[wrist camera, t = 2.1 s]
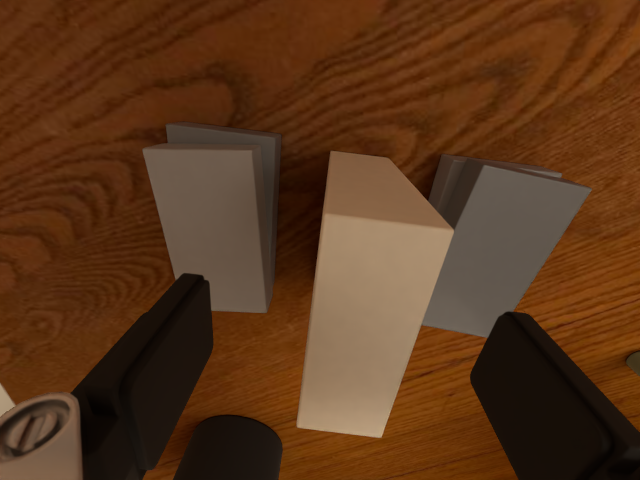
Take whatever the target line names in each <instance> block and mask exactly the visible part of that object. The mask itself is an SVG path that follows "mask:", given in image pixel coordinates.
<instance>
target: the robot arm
mask: <svg viewBox="0 0 640 480" xmlns="http://www.w3.org/2000/svg"><path fill="white" fill-rule="evenodd" d="M212 349H213V329H212V313H211V298H210V283H209V281H208V280H205V279H204V276H203V275H199V274H191V273H183V274H182V275H181V276H180V277H179V278H178V279H177V280H176V281H175V282H174V283H173V285H172V286H171V287H170V288H169V289H168V290H167V291H166V292H165V293H164V295H163V296H162V297H161V298H160V299H159V300H158V301H157V302H156V304H155V305H154V306H153V307H152V308H151V309H150V310H149V311H148V312H146V313H144V314H143V315H142V316H141V317H140V318H139V319H138V320H137V321H136V322H135V323H134V324H133V325H132V326H131V327H130V329H129V330H128V331H127V332H126V333H125V334H124V335H123V336H122V337H121V338H120V340H119V341H118V342H117V343H116V344H115V345H114V346H113V347H112V348H111V349H110V350H109V352H108V353H107V354H106V355H105V356H104V357H103V358H102V359H101V360H100V361H99V363H98V364H97V365H96V366H95V367H94V368H93V369H92V370H91V371H90V372H89V374H88V375H87V376H86V377H85V378H84V379H83V380H82V381H81V382H80V383H79V385H78V386H77V387H76V388H75V389H74V390H73V391H72V392H71V393H70V394H69V393H64V392H53V393H46V394H43V395H39V396H36V397H33V398H31V399H29V400H26V401H24V402H22V403H20V404H18V405H16V406H15V407H13V408H12V409H10V410H9V411H7V412H5V413H4V414H3V415H2V416H1V417H0V480H142V479H143V477H144V475H145V473H146V471H147V470H152V469H153V468H154V467H155V466H156V464H157V463H158V461H159V459H160V457H161V455H162V453H163V451H164V449H165V447H166V444H167V442H168V440H169V438H170V436H171V434H172V432H173V430H174V428H175V426H176V424H177V422H178V420H179V418H180V416H181V414H182V412H183V410H184V408H185V406H186V404H187V402H188V400H189V398H190V396H191V394H192V392H193V389H194V387H195V385H196V383H197V381H198V379H199V377H200V375H201V373H202V371H203V369H204V367H205V365H206V363H207V361H208V359H209V357H210V355H211V352H212ZM470 380H471V384H472V386H473V388H474V390H475V392H476V394H477V396H478V398H479V400H480V402H481V404H482V407H483V409H484V411H485V413H486V415H487V417H488V419H489V421H490V423H491V425H492V427H493V429H494V431H495V433H496V435H497V437H498V439H499V441H500V443H501V445H502V447H503V449H504V451H505V453H506V455H507V457H508V459H509V461H510V463H511V465H512V467H513V469H514V471H515V473H516V475H517V477H518V479H519V480H640V433H639V431H638V430H637V429H636V428H635V427H634V426H633V425H632V424H631V423H630V422H629V421H628V420H627V419H626V418H625V416H624V415H623V414H622V413H621V412H620V411H619V410H618V409H617V408H616V407H615V406H614V405H613V404H612V403H611V401H610V400H609V399H608V398H607V397H606V396H605V395H604V394H603V393H602V392H601V391H600V390H599V389H598V388H597V387H596V385H595V384H594V383H593V382H592V381H591V380H590V379H589V378H588V377H587V376H586V375H585V374H584V373H583V372H582V370H581V369H580V368H579V367H578V366H577V365H576V364H575V363H574V362H573V361H572V360H571V359H570V358H569V357H568V355H567V354H566V353H565V352H564V351H563V350H562V349H561V348H560V347H559V346H558V345H557V344H556V343H555V342H554V341H553V339H552V338H551V337H550V336H549V335H548V334H547V333H546V332H545V331H544V330H543V329H542V328H541V327H540V326H539V324H538V323H537V322H536V321H535V320H534V319H533V318H532V317H531V316H530V315H529V314H526V313H519V312H510V311H508V312H505V313H504V314H503V315H500V316H499V317H498V318H497V320H496V322H495V324H494V326H493V328H492V330H491V332H490V334H489V336H488V338H487V341H486V343H485V345H484V347H483V349H482V351H481V353H480V355H479V357H478V359H477V361H476V363H475V365H474V367H473V369H472V371H471V374H470Z"/></svg>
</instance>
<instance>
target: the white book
mask: <svg viewBox="0 0 640 480" xmlns="http://www.w3.org/2000/svg"><path fill="white" fill-rule="evenodd" d="M453 234H454V230H453V228H452V227H451V226H450V225H449V224H448V223H447V222H446V221H445V220H444V219H443V217H442V216H441V215H440V214H439V213H438V212H437V211H436V210H435V209H434V208H433V206H432V205H431V204H430V203H429V202H428V201H427V200H426V199H425V198H424V196H423V195H422V194H421V193H420V192H419V191H418V190H417V189H416V188H415V187H414V185H413V184H412V183H411V182H410V181H409V180H408V179H407V178H406V177H405V175H404V174H403V173H402V172H401V171H400V170H399V169H398V168H397V167H396V166H395V164H394V163H393V162H392V161H391V160H390V159H389V158H385V157H378V156H370V155H362V154H354V153H346V152H338V151H331V152H330V159H329V167H328V175H327V183H326V191H325V199H324V207H323V215H322V223H321V231H320V239H319V247H318V255H317V263H316V271H315V279H314V287H313V295H312V303H311V311H310V319H309V327H308V335H307V344H306V352H305V360H304V368H303V376H302V384H301V392H300V400H299V408H298V416H297V424H296V425H297V427H298V428H305V429H313V430H321V431H329V432H338V433H346V434H354V435H362V436H370V437H378V438H380V437H382V434H383V431H384V428H385V426H386V423H387V420H388V417H389V414H390V412H391V409H392V406H393V403H394V400H395V397H396V395H397V392H398V389H399V386H400V383H401V380H402V378H403V375H404V372H405V369H406V366H407V363H408V361H409V358H410V355H411V352H412V349H413V347H414V344H415V341H416V338H417V335H418V332H419V330H420V327H421V324H422V321H423V318H424V315H425V313H426V310H427V307H428V304H429V301H430V299H431V296H432V293H433V290H434V287H435V284H436V282H437V279H438V276H439V273H440V270H441V267H442V265H443V262H444V259H445V256H446V253H447V250H448V248H449V245H450V242H451V239H452V236H453Z"/></svg>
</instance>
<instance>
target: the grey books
mask: <svg viewBox="0 0 640 480" xmlns="http://www.w3.org/2000/svg"><path fill="white" fill-rule="evenodd" d="M166 132H167V140H168V143H162V144H158V145H154V146H150V147H146V148H143V150H142V151H143V154H144V158H145V162H146V166H147V170H148V174H149V178H150V182H151V186H152V190H153V193H154V197H155V201H156V205H157V209H158V213H159V217H160V221H161V225H162V229H163V232H164V236H165V240H166V244H167V248H168V252H169V256H170V260H171V264H172V268H173V271H174V275H175V279H176V280H177V279H178V278H179V277H180V276H181V275H182V274H183V273H191V274H199V275H203V276H204V279H205V280H208V281H209V283H210V298H211V311H232V312H256V313H267V311H268V308H269V305H270V302H271V299H272V296H273V292H272V288H273V285H274V278H275V258H276V238H277V218H278V198H279V178H280V158H281V138H282V135H281V134H278V133H270V132H262V131H254V130H246V129H238V128H230V127H223V126H215V125H207V124H199V123H191V122H176V123H169V124H166ZM561 176H562V173H559V172H556V171H553V170H550V169H547V168H544V167H541V166H533V165H526V164H518V163H510V162H502V161H494V160H486V159H478V158H470V157H462V156H454V155H446V154H442V155H441V158H440V162H439V165H438V168H437V172H436V175H435V179H434V182H433V185H432V189H431V192H430V196H429V199H428V202H429V203H430V204H431V205H432V206H433V208H434V209H435V210H436V211H437V212H438V213H439V214H440V215H441V216H442V217H443V219H444V220H445V221H446V222H447V223H448V224H449V225H450V226H451V227H452V228H453V230H454V234H453V236H452V239H451V242H450V245H449V248H448V250H447V253H446V256H445V259H444V262H443V265H442V267H441V270H440V273H439V276H438V279H437V282H436V284H435V287H434V290H433V293H432V296H431V299H430V301H429V304H428V307H427V310H426V313H425V315H424V318H423V321H422V324H421V325H425V326H430V327H435V328H440V329H445V330H451V331H456V332H461V333H466V334H471V335H476V336H481V337H486V338H488V336H489V334H490V332H491V330H492V328H493V326H494V324H495V322H496V320H497V318H498V317H499V316H500V315H503V314H504V313H505V312H508V311H510V312H513V311H514V309H515V307H516V306H517V304H518V303H519V301H520V300H521V298H522V297H523V295H524V294H525V292H526V290H527V289H528V287H529V286H530V284H531V283H532V281H533V280H534V278H535V277H536V275H537V273H538V272H539V270H540V269H541V267H542V266H543V264H544V263H545V261H546V260H547V258H548V256H549V255H550V253H551V252H552V250H553V249H554V247H555V246H556V244H557V243H558V241H559V239H560V238H561V236H562V235H563V233H564V232H565V230H566V229H567V227H568V225H569V224H570V222H571V221H572V219H573V218H574V216H575V215H576V213H577V212H578V210H579V208H580V207H581V205H582V204H583V202H584V201H585V199H586V198H587V196H588V195H589V193H590V191H591V190H592V189H591V188H590V187H587V186H584V185H581V184H578V183H575V182H572V181H569V180H566V179H563V178H561Z"/></svg>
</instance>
